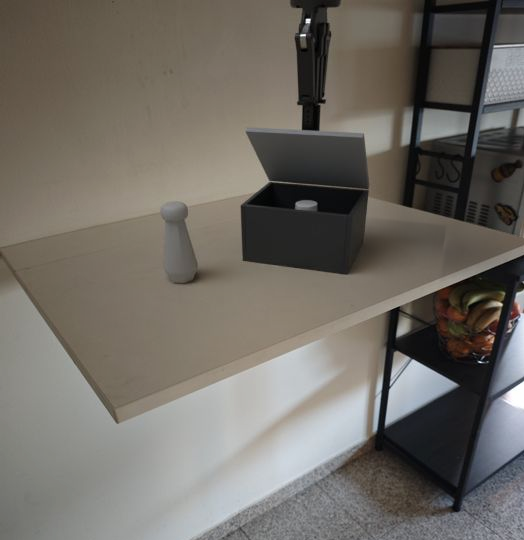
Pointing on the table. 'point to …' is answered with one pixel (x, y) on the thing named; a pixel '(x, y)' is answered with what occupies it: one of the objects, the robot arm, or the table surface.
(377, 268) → the table surface
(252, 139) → the grey box lid
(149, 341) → the table surface
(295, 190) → the box
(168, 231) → the salt shaker
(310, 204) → the pill bottle
